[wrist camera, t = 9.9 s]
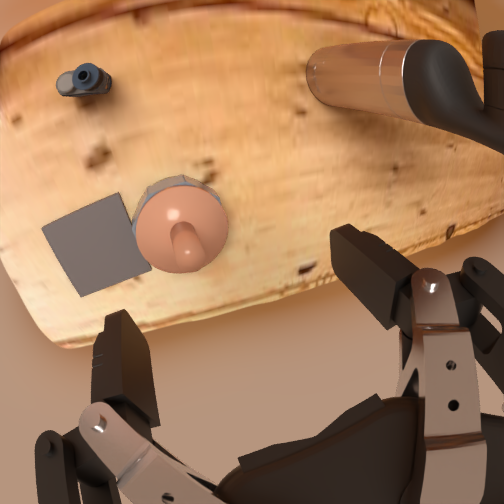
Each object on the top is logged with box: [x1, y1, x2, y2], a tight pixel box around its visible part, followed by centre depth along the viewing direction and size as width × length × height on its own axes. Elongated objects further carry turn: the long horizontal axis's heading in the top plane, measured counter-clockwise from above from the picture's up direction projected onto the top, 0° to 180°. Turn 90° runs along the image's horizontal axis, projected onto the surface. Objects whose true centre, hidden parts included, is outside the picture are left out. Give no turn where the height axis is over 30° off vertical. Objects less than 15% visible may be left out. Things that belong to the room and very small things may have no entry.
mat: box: [42, 192, 151, 297], centre depth 35 cm, size 12×12×1 cm
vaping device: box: [56, 63, 112, 97], centre depth 20 cm, size 3×5×12 cm, turn 83°
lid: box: [136, 185, 228, 273], centre depth 31 cm, size 11×11×7 cm
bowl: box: [132, 175, 221, 261], centre depth 35 cm, size 11×11×4 cm
